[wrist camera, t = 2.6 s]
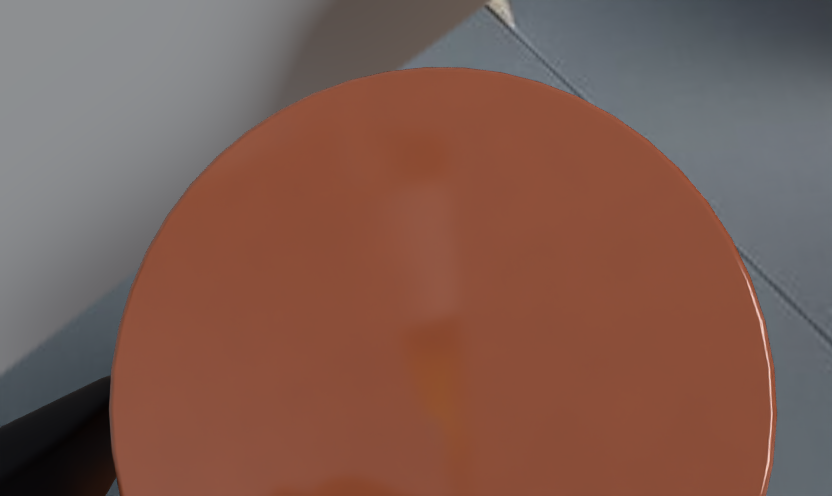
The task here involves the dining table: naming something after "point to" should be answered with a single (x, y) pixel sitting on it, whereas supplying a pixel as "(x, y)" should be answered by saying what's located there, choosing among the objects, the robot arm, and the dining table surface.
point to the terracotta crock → (442, 309)
